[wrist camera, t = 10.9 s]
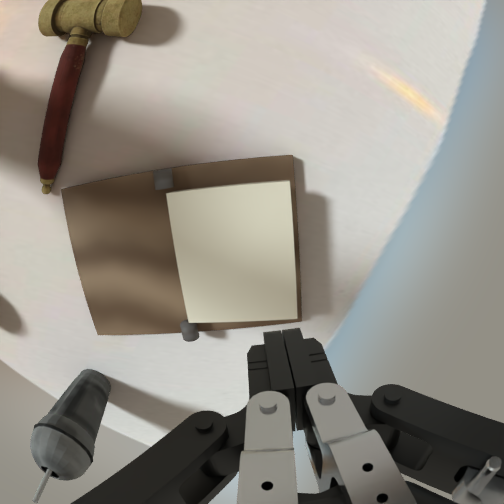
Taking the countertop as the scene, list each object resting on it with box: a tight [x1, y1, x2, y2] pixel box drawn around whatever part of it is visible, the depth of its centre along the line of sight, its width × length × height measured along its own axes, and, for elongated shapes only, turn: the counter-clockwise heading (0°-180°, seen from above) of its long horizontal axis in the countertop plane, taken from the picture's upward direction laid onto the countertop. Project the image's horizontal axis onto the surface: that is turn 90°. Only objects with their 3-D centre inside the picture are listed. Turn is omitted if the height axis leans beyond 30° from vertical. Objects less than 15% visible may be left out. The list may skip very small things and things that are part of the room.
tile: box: [166, 180, 297, 323], centre depth 27 cm, size 12×10×1 cm
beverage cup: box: [30, 369, 111, 503], centre depth 24 cm, size 7×7×20 cm
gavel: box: [38, 0, 142, 194], centre depth 22 cm, size 21×5×10 cm
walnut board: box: [61, 155, 302, 342], centre depth 28 cm, size 16×22×3 cm
